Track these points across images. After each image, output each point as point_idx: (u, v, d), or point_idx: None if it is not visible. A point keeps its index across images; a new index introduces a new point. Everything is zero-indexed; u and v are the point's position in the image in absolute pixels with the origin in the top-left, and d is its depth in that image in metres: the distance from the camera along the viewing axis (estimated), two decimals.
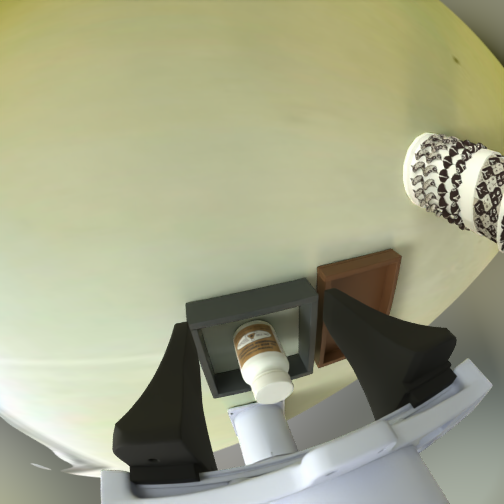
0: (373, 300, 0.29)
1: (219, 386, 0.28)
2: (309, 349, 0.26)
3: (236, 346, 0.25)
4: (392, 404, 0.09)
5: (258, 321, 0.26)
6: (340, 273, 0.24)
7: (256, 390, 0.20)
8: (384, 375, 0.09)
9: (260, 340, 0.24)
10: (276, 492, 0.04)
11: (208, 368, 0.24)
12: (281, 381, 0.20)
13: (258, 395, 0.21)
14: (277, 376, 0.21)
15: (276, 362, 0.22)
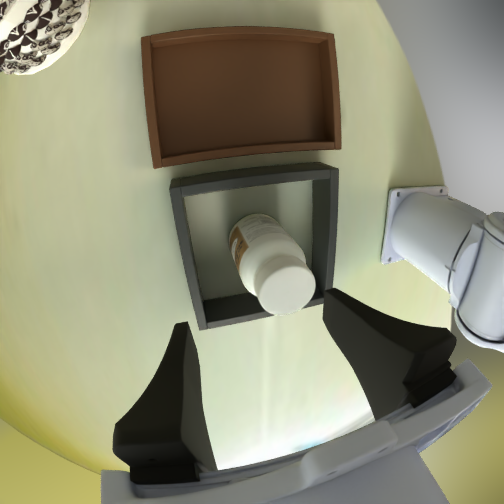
0: (235, 54, 0.15)
1: (319, 288, 0.24)
2: (277, 182, 0.17)
3: None
4: (392, 404, 0.09)
5: (229, 237, 0.21)
6: (151, 146, 0.16)
7: (272, 313, 0.16)
8: (384, 375, 0.09)
9: (235, 260, 0.19)
10: (276, 492, 0.04)
11: None
12: (261, 288, 0.15)
13: (281, 312, 0.16)
14: (257, 285, 0.15)
15: (251, 266, 0.17)
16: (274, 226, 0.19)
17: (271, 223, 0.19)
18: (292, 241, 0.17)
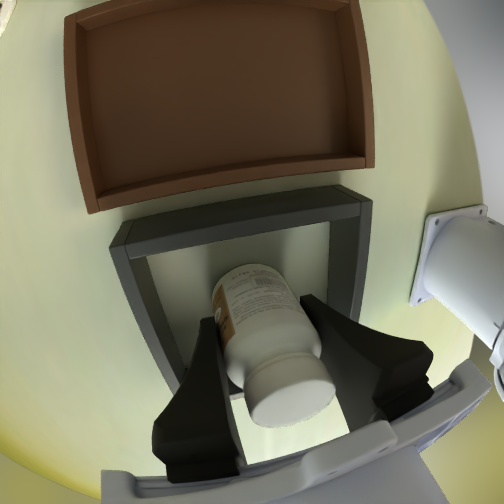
0: (209, 25, 0.09)
1: None
2: (279, 229, 0.11)
3: None
4: (363, 418, 0.08)
5: None
6: (80, 180, 0.09)
7: (270, 425, 0.10)
8: (355, 388, 0.09)
9: None
10: (276, 492, 0.04)
11: None
12: (253, 410, 0.09)
13: (284, 424, 0.10)
14: (247, 400, 0.09)
15: (240, 364, 0.10)
16: (275, 292, 0.12)
17: (270, 285, 0.13)
18: (302, 323, 0.11)
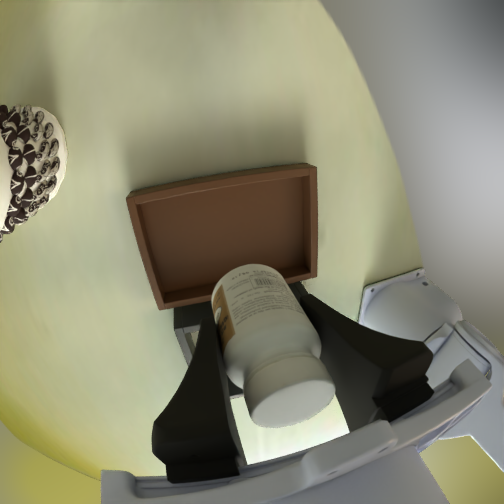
0: (218, 199, 0.20)
1: None
2: None
3: None
4: (363, 418, 0.08)
5: (212, 298, 0.15)
6: (154, 294, 0.20)
7: (271, 425, 0.10)
8: (355, 388, 0.09)
9: None
10: (276, 492, 0.04)
11: None
12: (253, 409, 0.09)
13: (284, 424, 0.10)
14: (247, 400, 0.09)
15: (239, 364, 0.10)
16: (275, 292, 0.12)
17: (270, 285, 0.13)
18: (302, 323, 0.11)
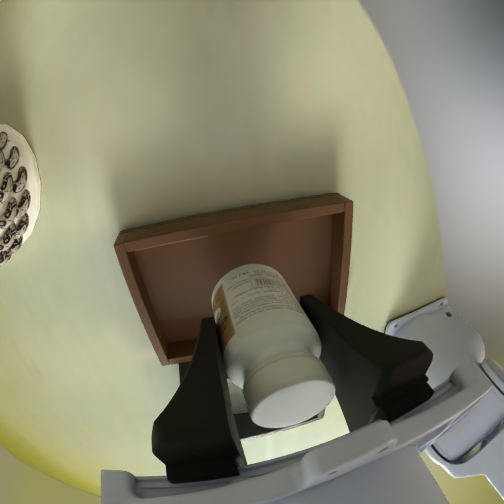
0: (231, 241, 0.16)
1: None
2: None
3: None
4: (363, 418, 0.08)
5: None
6: (156, 351, 0.16)
7: (271, 425, 0.10)
8: (355, 388, 0.09)
9: None
10: (276, 492, 0.04)
11: (272, 431, 0.23)
12: (253, 410, 0.09)
13: (284, 424, 0.10)
14: (247, 400, 0.09)
15: (239, 364, 0.10)
16: (275, 292, 0.12)
17: (270, 285, 0.13)
18: (302, 323, 0.11)
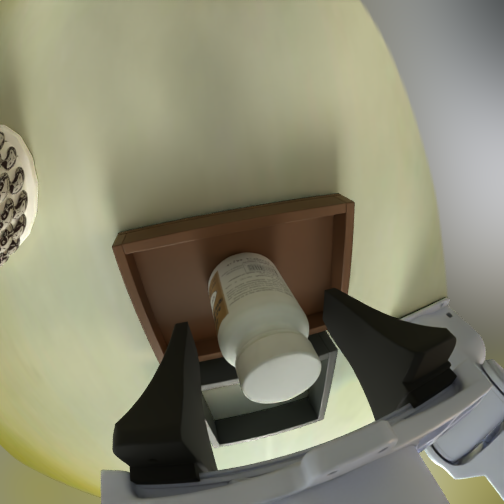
0: (231, 242, 0.16)
1: (314, 409, 0.24)
2: None
3: None
4: (391, 404, 0.09)
5: (208, 284, 0.16)
6: (155, 353, 0.16)
7: (262, 401, 0.11)
8: (384, 375, 0.09)
9: (214, 321, 0.14)
10: (276, 492, 0.04)
11: (272, 433, 0.22)
12: (244, 382, 0.10)
13: (274, 400, 0.11)
14: (239, 373, 0.10)
15: (232, 341, 0.11)
16: (265, 276, 0.14)
17: (262, 270, 0.14)
18: (290, 303, 0.12)
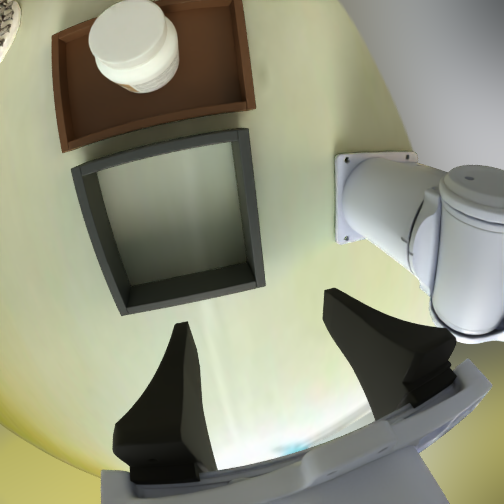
0: None
1: (252, 270, 0.21)
2: (174, 150, 0.15)
3: (133, 90, 0.13)
4: (392, 404, 0.09)
5: None
6: (59, 131, 0.13)
7: (106, 63, 0.08)
8: (384, 375, 0.09)
9: None
10: (276, 492, 0.04)
11: (193, 295, 0.20)
12: (91, 28, 0.07)
13: (117, 57, 0.08)
14: None
15: None
16: None
17: None
18: None
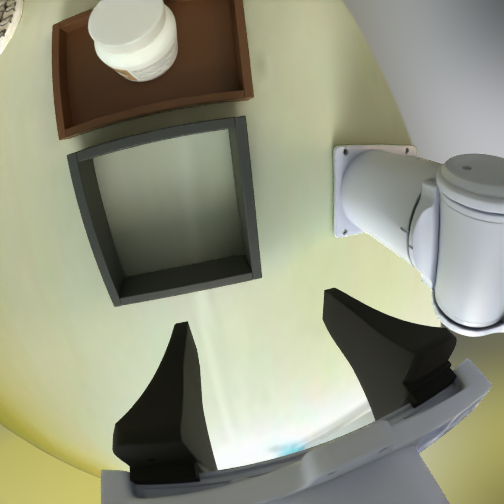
0: None
1: (248, 262, 0.21)
2: (170, 137, 0.15)
3: (131, 77, 0.13)
4: (392, 404, 0.09)
5: None
6: (56, 119, 0.13)
7: (104, 46, 0.08)
8: (384, 375, 0.09)
9: None
10: (276, 492, 0.04)
11: (187, 286, 0.19)
12: (91, 13, 0.07)
13: (115, 41, 0.08)
14: None
15: None
16: None
17: None
18: None
